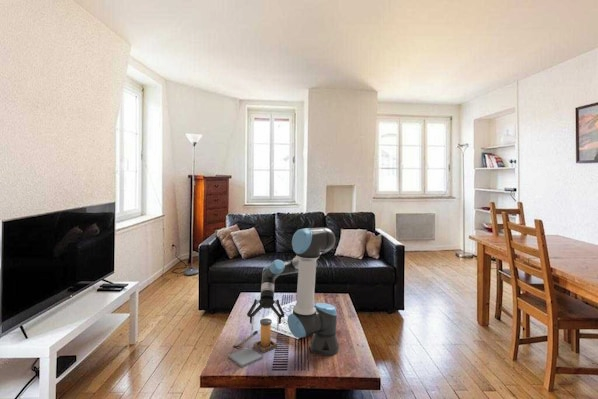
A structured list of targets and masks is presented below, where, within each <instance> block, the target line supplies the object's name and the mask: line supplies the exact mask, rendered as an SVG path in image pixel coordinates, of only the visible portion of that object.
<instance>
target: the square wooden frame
mask: <svg viewBox="0 0 598 399" xmlns="http://www.w3.org/2000/svg"><path fill="white" fill-rule="evenodd" d="M260 344H261V340H258V341H255V342H254V343H253V347H254V348H255V349H257V350H258V351H260V352H262V353H268V352H270V351H272V350H274V349H277V348H278V343H277V342H275V341H273V340H271V342H270V344H271V346H269V347H267V348H265V349H264V348H262V347H261V346H260Z"/></svg>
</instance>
